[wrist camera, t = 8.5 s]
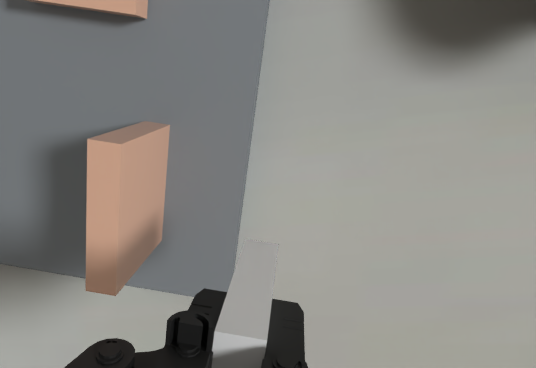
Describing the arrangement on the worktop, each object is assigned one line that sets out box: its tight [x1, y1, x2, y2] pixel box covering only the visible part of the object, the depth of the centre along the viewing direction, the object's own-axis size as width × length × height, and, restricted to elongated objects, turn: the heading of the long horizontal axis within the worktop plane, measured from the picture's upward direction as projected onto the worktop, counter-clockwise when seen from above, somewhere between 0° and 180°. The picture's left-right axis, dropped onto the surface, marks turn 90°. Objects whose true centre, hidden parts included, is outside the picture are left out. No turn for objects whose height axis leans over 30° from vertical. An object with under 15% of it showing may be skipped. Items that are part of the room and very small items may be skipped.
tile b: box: [86, 121, 170, 296], centre depth 22 cm, size 8×2×7 cm, turn 172°
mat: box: [0, 0, 270, 297], centre depth 24 cm, size 30×20×1 cm, turn 172°
